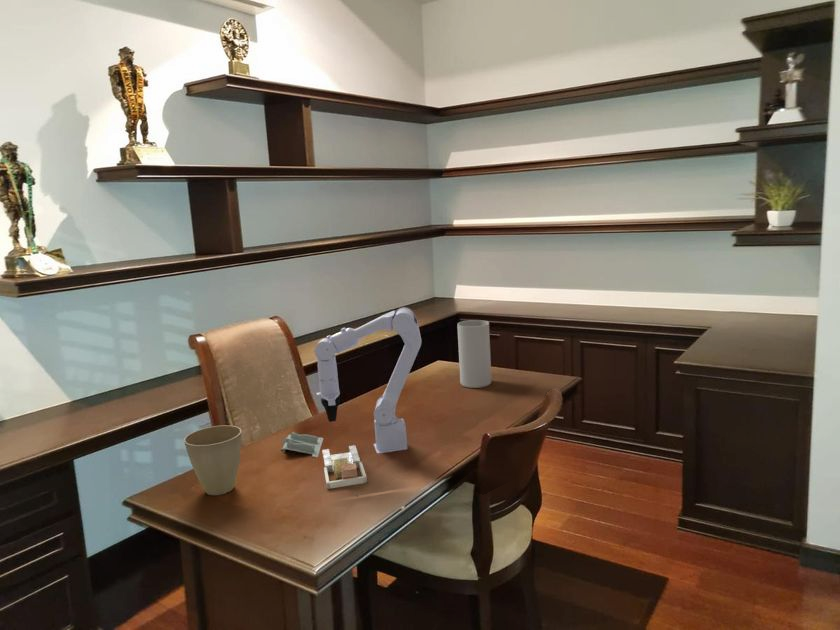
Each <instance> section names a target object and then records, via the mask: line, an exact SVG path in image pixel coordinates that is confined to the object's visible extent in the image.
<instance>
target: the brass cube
mask: <svg viewBox="0 0 840 630" xmlns="http://www.w3.org/2000/svg"><path fill="white" fill-rule="evenodd" d="M342 464H349V463H348V460H347V458H341V459H335V460H333V467H334V472H333V475H334V478H335V480H336V479H337V480H338V479H342V472H341V465H342Z"/></svg>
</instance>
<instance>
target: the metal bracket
mask: <svg viewBox="0 0 840 630" xmlns="http://www.w3.org/2000/svg"><path fill="white" fill-rule="evenodd" d="M323 441H324V438H323V437H318V436H316V435H311V434H306V433H305V434H298V433H297V432H296V431H292V432H291V434H288V435H287V437H284V438H283V445H282V447H281V448H280V450H281V451H283V453H285V452H286V450H289V451H294V452H298V453H304V454H308V455H312V456H311V458H318V456H319V454H320V451H321V447H322V444H323Z"/></svg>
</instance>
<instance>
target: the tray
mask: <svg viewBox="0 0 840 630" xmlns="http://www.w3.org/2000/svg"><path fill="white" fill-rule="evenodd" d="M358 469H359V471H360V474H361V476H357V477H355V478H348V479H342V478H341V479H337V480H336V479H335V480H331V481H330V478H329V472H327V467H325V466H324V467H323V473H324V478H325V484H326V489H327V490H329V489H335V488H336V489H337V488H342V487H348V486H349V487H350V486H354V485H362V484H367V483H368V480H367V479H368V478H367V477H368V476H367V474H366V471H365V468H364V465H363V462H362V461H360V462H359V468H358Z"/></svg>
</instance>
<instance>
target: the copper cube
mask: <svg viewBox="0 0 840 630" xmlns="http://www.w3.org/2000/svg"><path fill="white" fill-rule="evenodd" d="M357 469H358V468H356V463H350V464H342V465H341V472H342V478H341V480H342V479H348V478H355V477H358V470H357Z"/></svg>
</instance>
